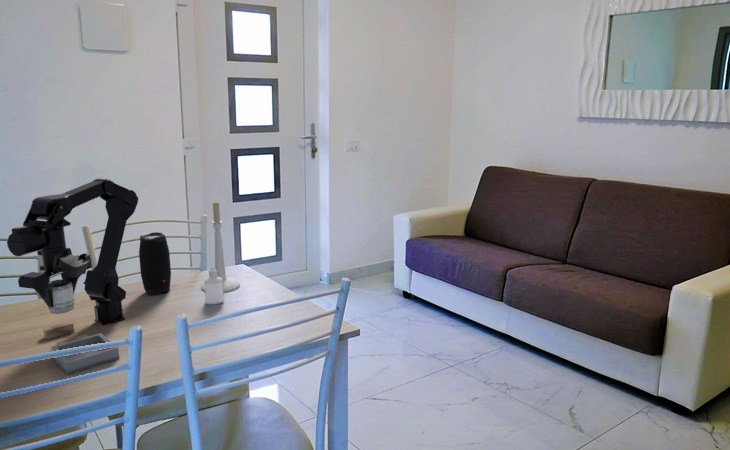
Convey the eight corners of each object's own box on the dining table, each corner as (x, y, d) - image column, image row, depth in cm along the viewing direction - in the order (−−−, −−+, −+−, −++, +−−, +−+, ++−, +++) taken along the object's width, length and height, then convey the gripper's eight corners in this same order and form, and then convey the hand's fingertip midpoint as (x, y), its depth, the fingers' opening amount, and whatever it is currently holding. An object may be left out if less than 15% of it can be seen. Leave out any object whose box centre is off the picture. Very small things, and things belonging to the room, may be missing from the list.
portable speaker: (174, 293, 185) (169, 236, 181) (144, 298, 181) (139, 240, 176) (169, 285, 193) (165, 230, 188) (140, 290, 188) (135, 233, 184)
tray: (102, 343, 149) (101, 332, 148) (119, 358, 140) (118, 347, 140) (52, 357, 141) (51, 346, 140) (67, 375, 132) (66, 363, 132)
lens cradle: (72, 329, 157) (71, 321, 157) (89, 345, 147) (87, 336, 147) (44, 336, 153) (43, 328, 152) (60, 354, 143) (58, 345, 142)
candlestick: (240, 291, 187) (235, 203, 180) (200, 294, 184) (194, 205, 177) (239, 279, 199) (235, 196, 192) (202, 281, 196) (196, 198, 189)
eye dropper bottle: (219, 305, 175) (217, 269, 172) (203, 304, 176) (200, 268, 173) (226, 300, 179) (223, 265, 176) (210, 299, 180) (207, 263, 177)
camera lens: (63, 315, 144) (59, 286, 142) (42, 313, 146) (38, 284, 144) (80, 306, 150) (77, 278, 148) (60, 304, 152) (57, 277, 150)
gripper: (49, 258, 133) (57, 319, 136) (105, 239, 150) (111, 293, 154) (12, 254, 136) (21, 314, 139) (71, 236, 153) (78, 289, 157)
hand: (61, 302), depth 147 cm, fingers closed on camera lens, 6 cm apart
